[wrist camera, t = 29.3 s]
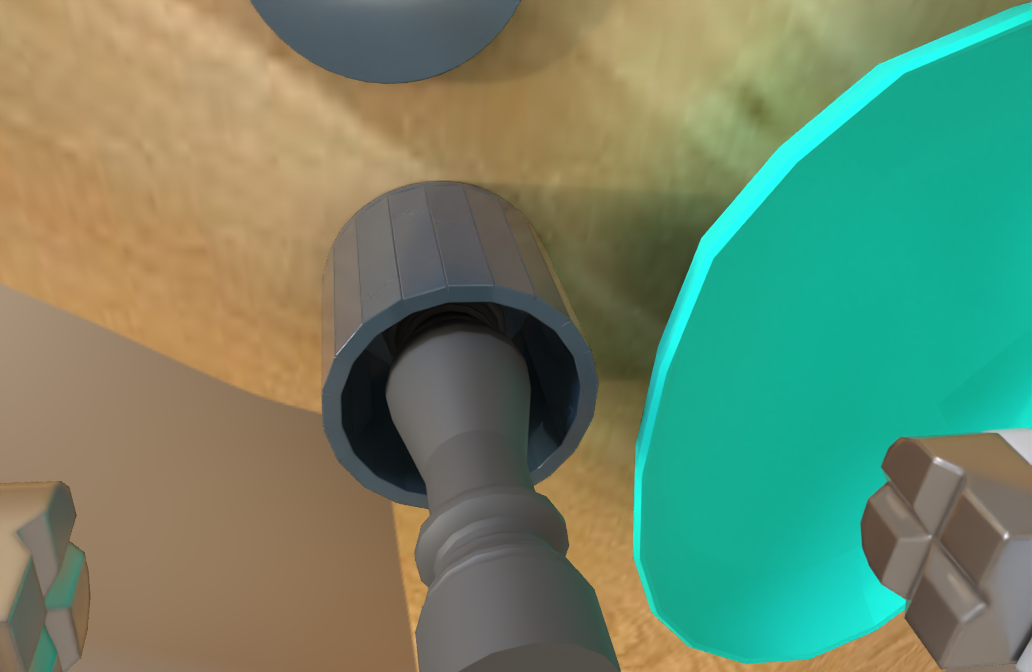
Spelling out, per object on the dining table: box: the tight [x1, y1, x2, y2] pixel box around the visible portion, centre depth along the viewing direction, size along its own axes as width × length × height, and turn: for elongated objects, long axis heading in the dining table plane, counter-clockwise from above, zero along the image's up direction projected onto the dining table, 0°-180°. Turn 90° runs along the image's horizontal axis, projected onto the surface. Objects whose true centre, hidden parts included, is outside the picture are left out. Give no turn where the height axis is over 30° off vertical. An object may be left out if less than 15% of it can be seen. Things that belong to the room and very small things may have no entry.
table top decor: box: [633, 2, 1032, 664], centre depth 45 cm, size 40×28×13 cm
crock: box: [322, 181, 599, 509], centre depth 42 cm, size 12×12×11 cm
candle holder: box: [382, 302, 621, 672], centre depth 35 cm, size 6×6×25 cm
